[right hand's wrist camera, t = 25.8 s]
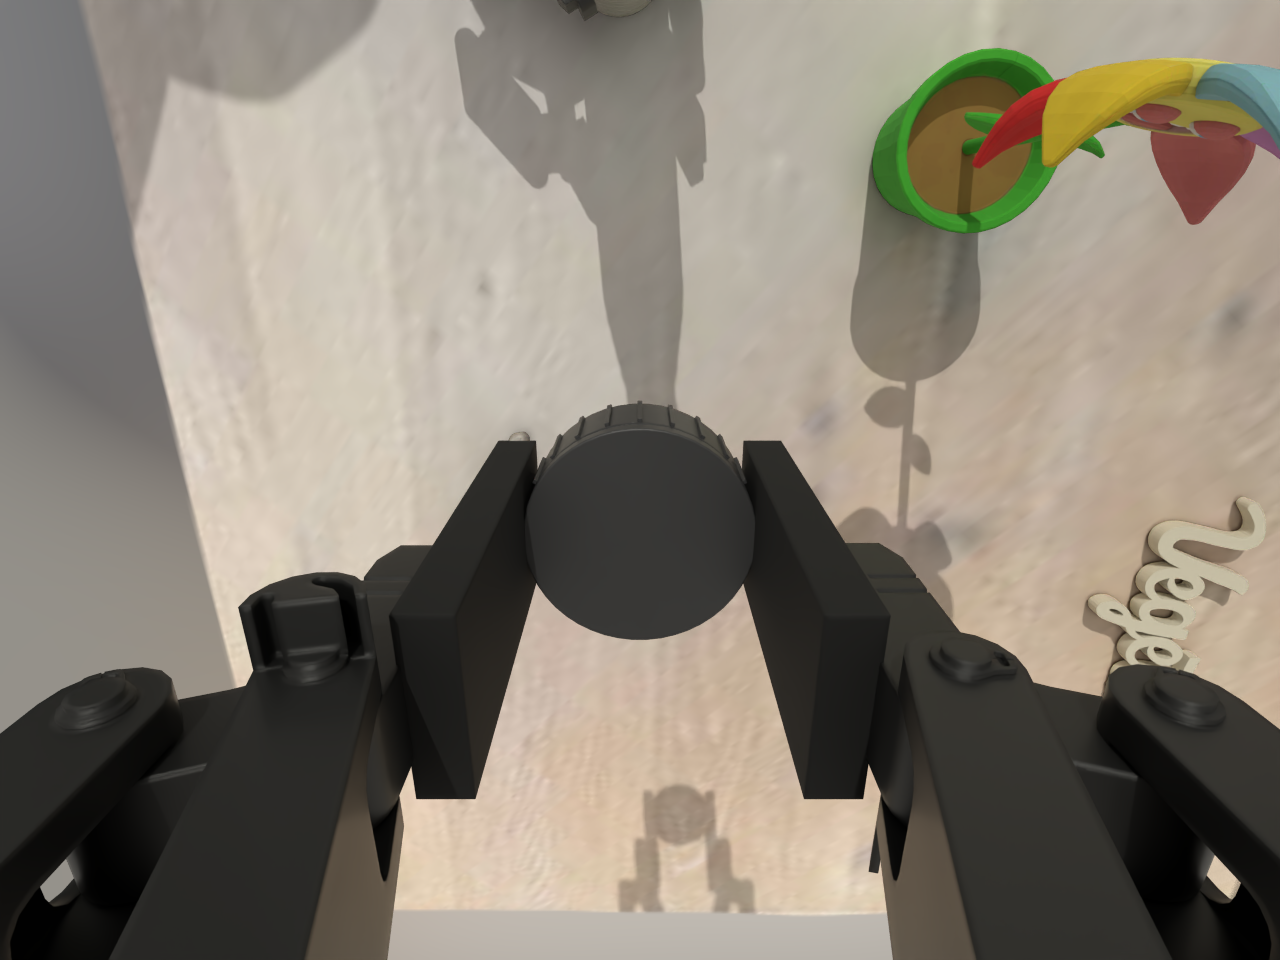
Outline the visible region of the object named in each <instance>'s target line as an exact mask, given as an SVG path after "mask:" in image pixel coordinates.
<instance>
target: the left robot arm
mask: <svg viewBox="0 0 1280 960" xmlns="http://www.w3.org/2000/svg"><path fill="white" fill-rule="evenodd" d="M557 1H558V3H559V5H560V6H561V7H562V8H563V9H564V10H565V11H566V12H567V13H571V12H572V11H574V10H576V9H577V8H578V9H579V11H580V13H581V15H582V17H583V19H584V21H586V20H587V19H589V18H590V17H592V16H593V15H595V14H596V13H598V12H597V7H596V3H595V0H557Z"/></svg>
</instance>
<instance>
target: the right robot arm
mask: <svg viewBox="0 0 1280 960" xmlns="http://www.w3.org/2000/svg"><path fill="white" fill-rule="evenodd" d="M537 470H538V469H537V451H536V441H498V443H497V444H496V446H495V447H494V449H493V451H492V452H491V454H490V455H489V457H488V458H487V460H486V462H485V463H484V465H483V466H482V468H481V470H480V471H479V473H478V474H477V476H476V477H475V479H474V481H473V482H472V484H471V485H470V487H469V489H468V490H467V492H466V493H465V495H464V497H463V498H462V500H461V501H460V503H459V504H458V506H457V508H456V509H455V511H454V512H453V514H452V516H451V517H450V519H449V520H448V522H447V524H446V525H445V527H444V528H443V530H442V531H441V533H440V535H439V536H438V538H437V539H436V541H435V543H434V544H433V545H401V546H399V547H398V548H396V549H394V550H393V551H391V552H389V553H388V554H386V555H385V556H383V557H381V558H380V559H378V560H377V561H376V562H375V564H374V565H373V566H372V567H371V569H370V570H369V571H368V573H367V574H366V575H365V577H364V581H361V580H359V579H358V578H357V577H355V576H352V575H348V574H343V573H339V572H316V573H311V574H305V575H299V576H294V577H290V578H287V579H284V580H281V581H278V582H275V583H272V584H269V585H268V586H266V587H264V588H262V589H260V590H259V591H257V592H255V593H253V594H251V595H250V596H249V597H248V598H247V599H246V600H245V601H244V602H243V603H242V604H241V605H240V606H239V607H238V608H239V613H240V617H241V621H242V625H243V629H244V633H245V638H246V642H247V646H248V650H249V654H250V658H251V663H252V667H253V672H252V674H251V676H250V678H249V680H248V682H247V684H246V686H243V687H239V688H235V689H231V690H227V691H221V692H216V693H211V694H206V695H201V696H195V697H190V698H185V699H180V700H178V699H177V695H176V692H175V689H174V685H173V682H172V679H171V678H170V677H169V676H168V675H166V674H165V673H164V672H163V671H161V670H156V669H149V668H143V667H141V668H131V669H117V670H112V671H107V672H105V673H104V674H101V673H99V674H96V675H92V676H89V677H87V678H84V679H83V680H82V681H80V682H77V683H75V684H73V685H70V686H68V687H66V688H63V689H61V690H60V691H58V692H57V693H55V694H53V695H52V696H50V697H49V698H47V699H46V700H44V701H42V702H41V703H39V704H38V705H36V706H35V707H34V708H32V709H31V710H30V711H29V712H27V713H26V714H25V715H24V716H22V717H21V718H20V719H18V720H17V721H16V722H15V723H13V724H12V725H11V726H9V727H8V728H7V729H6V730H4V731H3V732H2V733H1V734H0V960H387V957H388V949H389V941H390V933H391V925H392V917H393V909H394V901H395V893H396V885H397V877H398V869H399V861H400V854H401V846H402V838H403V830H404V823H403V816H402V809H401V803H400V797H399V795H400V792H401V790H402V787H403V785H404V783H405V780H406V778H407V775H408V773H409V771H410V768H411V767H412V774H413V780H414V787H415V793H416V799H476V795H477V792H478V788H479V785H480V781H481V777H482V774H483V770H484V767H485V763H486V760H487V756H488V753H489V749H490V746H491V742H492V738H493V735H494V731H495V728H496V724H497V721H498V717H499V714H500V710H501V707H502V703H503V699H504V696H505V692H506V689H507V685H508V682H509V678H510V675H511V671H512V668H513V664H514V660H515V657H516V653H517V650H518V646H519V643H520V639H521V636H522V632H523V628H524V625H525V621H526V618H527V614H528V611H529V607H530V604H531V600H532V597H533V593H534V589H535V586H536V581H535V579H534V577H533V575H532V574H531V571H530V568H529V565H528V563H527V556H526V541H525V525H524V517H525V513H526V508H527V505H528V502H529V499H530V497H531V494H532V492H533V489H534V487H535V484H533V480H534V478H535V475H536V473H537ZM742 471H743V473H744V476H745V478H746V481H747V483H746V484H744V485H745V487H746V490H747V492H748V495H749V497H750V500H751V503H752V505H753V509H754V514H755V534H754V549H753V562H752V565H751V568H750V570H749V573H748V575H747V577H746V579H745V581H744V583H743V584H744V588H745V591H746V595H747V598H748V602H749V605H750V609H751V612H752V616H753V619H754V623H755V627H756V630H757V634H758V637H759V641H760V644H761V648H762V651H763V655H764V658H765V662H766V666H767V669H768V673H769V676H770V680H771V683H772V687H773V690H774V694H775V698H776V701H777V705H778V708H779V712H780V715H781V719H782V722H783V726H784V729H785V733H786V737H787V740H788V744H789V747H790V751H791V754H792V758H793V761H794V765H795V769H796V772H797V776H798V779H799V783H800V786H801V790H802V793H803V797H804V799H863V797H864V790H865V784H866V777H867V770H868V764H869V766H870V768H871V771H872V773H873V775H874V778H875V780H876V783H877V785H878V787H879V790H880V792H881V797H880V803H879V809H878V815H877V821H876V827H875V834H874V840H873V846H872V852H871V859H870V866H869V872H873V873H878V871H879V865H880V860H881V868H882V876H883V884H884V892H885V900H886V908H887V916H888V923H889V932H890V939H891V947H892V955H893V960H1280V729H1278V728H1277V727H1276V726H1275V725H1273V724H1272V723H1271V722H1269V721H1268V720H1267V719H1266V718H1264V717H1263V716H1262V715H1260V714H1259V713H1258V712H1257V711H1255V710H1254V709H1253V708H1251V707H1250V706H1249V705H1248V704H1246V703H1245V702H1244V701H1242V700H1241V699H1239V698H1237V697H1236V696H1234V695H1233V694H1231V693H1230V692H1228V691H1226V690H1225V689H1223V688H1222V687H1220V686H1218V685H1216V684H1213V683H1211V682H1209V681H1206V680H1204V679H1202V678H1199V677H1198V676H1197V675H1195V674H1193V673H1189V672H1186V671H1183V670H1180V669H1179V671H1178V670H1176V668H1171V667H1166V666H1153V665H1142V664H1135V665H1129V666H1123V667H1118V668H1117V669H1116V670H1115V671H1114V672H1112V673H1111V674H1110V675H1109V676H1108V680H1107V683H1106V686H1105V690H1104V693H1103V697H1101V696H1096V695H1090V694H1085V693H1080V692H1075V691H1070V690H1065V689H1059V688H1054V687H1049V686H1045V685H1041V684H1037V683H1033V681H1032V679H1031V677H1030V675H1029V673H1028V671H1027V669H1026V668H1025V667H1024V666H1023V665H1022V663H1021V662H1020V661H1019V660H1018V659H1017V657H1016V656H1015V655H1013V654H1011V653H1010V652H1008V651H1007V650H1005V649H1004V648H1002V647H1001V646H999V645H998V644H996V643H993V642H991V641H988V640H986V639H983V638H981V637H978V636H976V635H971V634H966V633H961V632H960V631H959V630H958V629H957V627H956V626H955V625H954V624H953V622H952V621H951V620H950V618H949V617H948V616H947V614H946V613H945V612H944V611H943V609H942V608H941V607H940V605H939V604H938V603H937V601H936V600H935V599H934V598H933V596H932V595H931V594H930V593H927V589H926V587H925V586H924V585H923V583H922V582H921V581H920V579H919V578H916V574H915V573H914V572H913V570H912V569H911V568H910V566H909V565H908V564H907V563H906V561H905V560H904V559H903V558H902V557H901V556H899V555H897V554H896V553H894V552H893V551H891V550H889V549H888V548H886V547H884V546H883V545H881V544H879V543H845V542H844V540H843V539H842V537H841V535H840V534H839V532H838V531H837V529H836V527H835V526H834V524H833V523H832V521H831V520H830V518H829V516H828V515H827V513H826V512H825V510H824V508H823V507H822V505H821V504H820V502H819V500H818V499H817V497H816V496H815V494H814V493H813V491H812V489H811V488H810V486H809V485H808V483H807V481H806V480H805V478H804V477H803V475H802V473H801V472H800V470H799V469H798V467H797V466H796V464H795V462H794V461H793V459H792V458H791V456H790V454H789V453H788V451H787V450H786V448H785V446H784V445H783V443H782V442H781V441H744V443H743V461H742ZM1214 855H1215V856H1216V857H1217V858H1218V859H1219V860H1220V861H1221V862H1222V863H1223V864H1224V865H1225V866H1226V867H1227V868H1228V869H1229V871H1230V872H1231V873H1232V874H1233V875H1234V876H1235V877H1236V878H1237V879H1238V880H1239V881H1240V882H1241V884H1240V887H1239V889H1238V891H1237V894H1236V896H1235V897H1234V898H1233V899H1229V898H1228V897H1227V896H1226V895H1225V894H1224V893H1223V892H1221V891H1220V890H1219V889H1218V888H1217V887H1216V886H1215V884H1214V883H1213V882H1212V881H1211V880H1210V879H1209V878H1208V877H1207V873H1208V870H1209V868H1210V865H1211V863H1212V860H1213V858H1214ZM65 859H67V862H68V864H69V867H70V869H71V872H72V874H73V877H74V879H73V880H72V881H71V882H70V884H69V885H68V886H67V887H66V888H65V889H64V890H63V891H62V892H61V893H60V894H59V895H58V896H56V897H55V898H54V899H53V900H51V901H50V902H48V901H47V900H46V899H45V898H44V895H43V893H42V891H41V888H40V886H41V885H42V884H43V883H44V882H45V881H46V880H47V879H48V877H49V876H50V875H51V874H52V873H53V872H54V871H55V870H56V869H57V868H58V867H59V866H60V865H61V863H62V862H63V861H64V860H65Z"/></svg>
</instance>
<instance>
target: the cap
mask: <svg viewBox="0 0 1280 960" xmlns="http://www.w3.org/2000/svg"><path fill="white" fill-rule="evenodd" d="M746 483H747V481H746V478H745V476H744V473H743V471H742V468H741V466H740V464H739V461H738V459H737V457H736V458H733V456H732V454H731V453H730V451H729V449H728V448H727V447H726V445H725V442H724V440H723V437H722V436H721V435H720V434H719V435H718V436H717V435H716V434H715V433H714V432H713V431H712V430H711V429H710V428H708V427H707V426H706V425H704V424H703V423H702V422H701V420H700V418H699V417H698V416H696V417H695V418H693V417H692V416H690V415H688V414H685V413H683V412H681V411H678V410H676V409H673V407H672V405H668V407H664V406H660V405H652V404H642V401H638V404H627V405H620V406H615V407H612V405H608V406H607V409H604V410H602V411H599V412H597V413H594V414H592V415H590V416H588V417H586V418H584V416H582V417H580V419H579V422H578V423H577V424H575V425H574V426H573V427H571V428H570V429H569V430H568V431H567V432H566V433H565V434H564V435H563V436H562V435H561V434H559V435H558V436H557V439H556V442H555V444H554V446H553V448H552V449H551V450H550V452H549V454H548V456H547V458H544V457H543V458H542V460H541V463H540V465H539V468H538V470H537V473H536V475H535V478H534V480H533V484H535V487H534V489H533V492H532V494H531V497H530V499H529V502H528V505H527V508H526V513H525V517H524V525H525V541H526V556H527V563H528V565H529V568H530V571H531V574H532V575H533V577H534V579H535V581H536V583H537V585H538V586H539V588H540V589H541V591H542V592H543V593H544V595H545V596H546V598H547V599H548V600H549V601H550V602H551V603H552V604H553V605H554V606H555V607H556V608H557V609H558V610H559V611H561V612H562V613H563V614H564V615H565V616H567V617H568V618H570V619H571V620H573V621H574V622H576V623H577V624H579V625H581V626H583V627H585V628H588V629H590V630H592V631H595V632H598V633H600V634H603V635H607V636H611V637H616V638H622V639H631V640H649V639H658V638H664V637H668V636H673V635H676V634H679V633H682V632H685V631H688V630H690V629H692V628H694V627H696V626H698V625H700V624H702V623H704V622H705V621H707V620H708V619H710V618H712V617H713V616H714V615H716V614H717V613H718V612H719V611H720V610H722V609H723V608H724V607H725V606H726V605H727V604H728V603H729V602H730V601H731V599H732V598H733V597H734V596H735V595H736V593H737V592H738V590H739V589H740V588H741V586H742V584H743V583H744V581H745V579H746V577H747V575H748V573H749V570H750V568H751V565H752V562H753V549H754V534H755V514H754V509H753V505H752V503H751V500H750V497H749V495H748V492H747V490H746V487H745V485H744V484H746Z"/></svg>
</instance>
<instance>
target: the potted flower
mask: <svg viewBox="0 0 1280 960" xmlns="http://www.w3.org/2000/svg"><path fill="white" fill-rule="evenodd" d="M1120 125H1127V126H1132V127H1136V128H1140V129H1144V130H1149V131H1151V145H1152V151H1153V154H1154V157H1155V160H1156V163H1157V166H1158V168H1159V170H1160V173H1161V175H1162V177H1163V179H1164V180H1165V182H1166V184H1167V186H1168V188H1169V189H1170V191H1171V192H1172V194H1173V195H1174V197H1175V198H1176V200H1177V201H1178V203H1179V205H1180V207H1181V209H1182V211H1183V213H1184V215H1185V217H1186V219H1187V221H1188V223H1189V224H1192V225H1194V224H1199V223H1201V222H1202V221H1203V220H1204V218H1205V217H1206V216H1207V215H1208V214H1209V213H1210V212H1211V210H1212V209H1213V208H1214V207H1215V206H1216V205H1217V204H1218V202H1219V201H1220V200H1221V199H1222V198H1223V197H1224V196H1225V195H1226V194H1227V193H1228V192H1229V191H1230V190H1231V189H1232V188H1233V187H1234V186H1235V184H1236V183H1237V182H1238V181H1239V180H1240V178H1241V177H1242V176H1243V175H1244V173H1245V171H1246V170H1247V168H1248V166H1249V164H1250V162H1251V160H1252V158H1253V156H1254V151H1255V147H1256V144H1257V145H1259V146H1260V147H1262V148H1264V149H1266V150H1267V151H1269V152H1271V153H1272V154H1273V155H1275V156H1276V157H1277V158H1279V159H1280V70H1279V69H1274V68H1270V67H1265V66H1261V65H1247V64H1234V63H1228V62H1223V61H1215V60H1207V59H1193V58H1158V59H1147V60H1138V61H1130V62H1123V63H1115V64H1109V65H1103V66H1097V67H1093V68H1090V69H1086V70H1083V71H1079V72H1077V73H1075V74H1073V75H1071V76H1070V77H1068V78H1064V79H1059V80H1056V81H1054V80H1053V79H1052V77H1051V76H1050V75H1049V74H1048V72H1047V71H1046V70H1045V69H1044V67H1042V66H1041V65H1040V64H1039V63H1037V62H1036V61H1035V60H1033V59H1032V58H1031V57H1029V56H1026V55H1024V54H1022V53H1019V52H1017V51H1013V50H1007V49H1001V48H995V49H981V50H978V51H974V52H971V53H967V54H964V55H962V56H960V57H958V58H956V59H955V60H953V61H951V62H949V63H947V64H946V65H945V66H943V67H942V68H941V69H939V70H938V71H937V72H936V73H934V74H933V75H932V76H931V77H929V78H928V79H927V80H926V81H925V82H924V83H923V84H922V85H921V86H920V87H919V88H918V90H917V91H916V92H915V93H914V94H913V95H912V97H911V98H910V99H909V100H908V101H906V102H905V103H904V104H903V105H901V106H900V107H899V108H898V109H897V110H895V112H894V113H893V114H892V115H891V116H890V117H889V118H888V119H887V121H886V123H885V124H884V126H883V127H882V129H881V131H880V133H879V135H878V138H877V140H876V143H875V148H874V152H873V164H872V166H873V174H874V179H875V182H876V185H877V188H878V189H879V191H880V193H881V195H882V196H883V198H884V199H885V200H886V201H887V202H888V203H889V204H890V205H891V206H893V207H894V208H896V209H897V210H899V211H901V212H904V213H907V214H909V215H913V216H916V217H918V218H919V219H921V220H922V221H923V222H925V223H927V224H929V225H932V226H934V227H937V228H939V229H943V230H946V231H951V232H957V233H976V232H982V231H986V230H990V229H993V228H996V227H998V226H1000V225H1002V224H1004V223H1007V222H1009V221H1011V220H1012V219H1013V218H1015V217H1016V216H1018V215H1019V214H1021V213H1022V212H1023V211H1025V210H1026V209H1027V208H1028V207H1029V206H1030V205H1031V204H1032V203H1033V202H1034V201H1035V200H1036V199H1037V198H1038V197H1039V195H1040V194H1041V192H1042V191H1043V190H1044V188H1045V187H1046V186H1047V184H1048V183H1049V181H1050V179H1051V177H1052V175H1053V173H1054V171H1055V169H1056V168H1057V165H1058V164H1060V163H1061V162H1062V161H1063V160H1064V159H1065V158H1066V157H1067V156H1069V155H1070V154H1071V153H1072V152H1073V151H1074V150H1075V149H1076V148H1079V149H1082V150H1085V151H1088V152H1091V153H1093V154H1095V155H1096V156H1098V157H1099V158H1103V157H1104V156H1105V154H1104V151H1103V148H1102V146H1101V144H1100V142H1099V141H1098V140H1097V139H1096V138H1095V137H1094V136H1093V135H1095V134H1096V133H1098V132H1099V131H1101V130H1102V129H1105V128H1110V127H1115V126H1120Z"/></svg>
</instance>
